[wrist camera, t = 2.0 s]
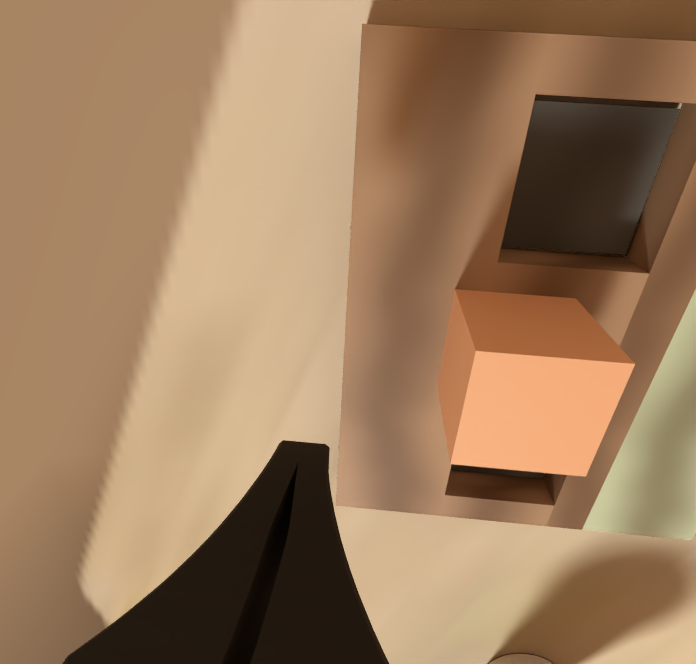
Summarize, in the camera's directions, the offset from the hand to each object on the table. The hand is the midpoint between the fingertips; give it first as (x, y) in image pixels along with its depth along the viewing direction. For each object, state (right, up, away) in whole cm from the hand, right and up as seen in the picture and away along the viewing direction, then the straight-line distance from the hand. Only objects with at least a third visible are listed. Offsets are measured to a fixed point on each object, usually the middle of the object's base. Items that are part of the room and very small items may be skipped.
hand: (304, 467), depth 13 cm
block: (+8, +3, +7) cm, 11 cm away
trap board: (+11, +4, +9) cm, 15 cm away
